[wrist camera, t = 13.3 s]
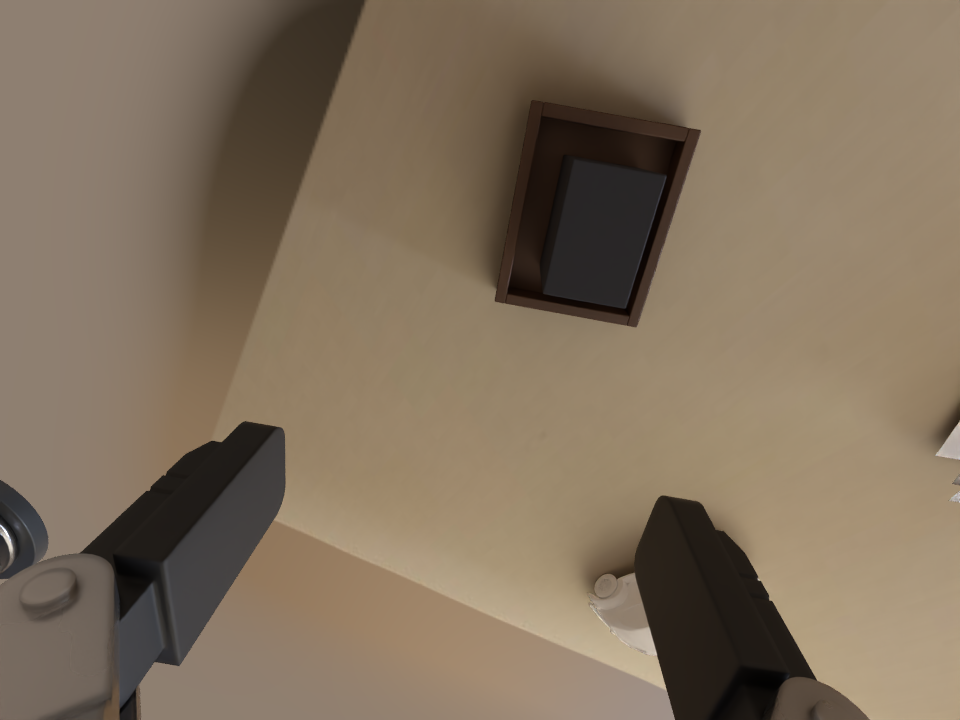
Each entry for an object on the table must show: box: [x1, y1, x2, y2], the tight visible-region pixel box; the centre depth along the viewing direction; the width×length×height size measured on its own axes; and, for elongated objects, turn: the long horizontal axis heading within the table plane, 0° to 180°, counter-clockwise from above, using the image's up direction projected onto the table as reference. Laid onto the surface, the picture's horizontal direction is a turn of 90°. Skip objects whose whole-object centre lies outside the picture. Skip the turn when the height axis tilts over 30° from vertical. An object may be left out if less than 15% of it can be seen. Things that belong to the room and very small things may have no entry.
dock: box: [495, 100, 701, 327], centre depth 26 cm, size 8×10×2 cm
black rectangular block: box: [540, 155, 667, 309], centre depth 24 cm, size 4×6×6 cm, turn 171°
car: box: [587, 572, 760, 656], centre depth 35 cm, size 12×6×5 cm, turn 128°
